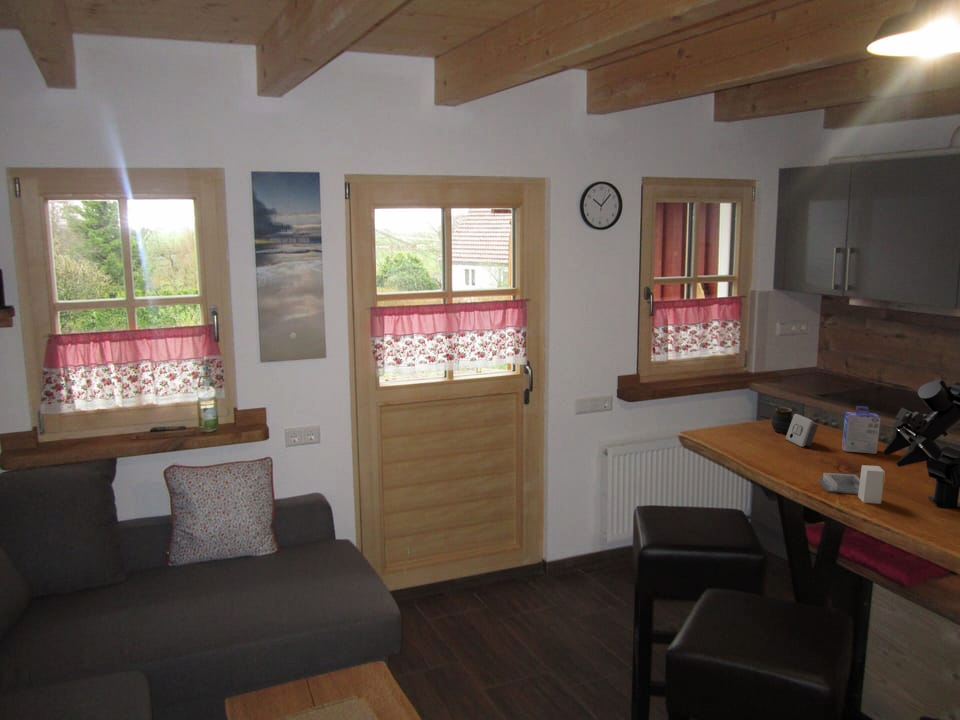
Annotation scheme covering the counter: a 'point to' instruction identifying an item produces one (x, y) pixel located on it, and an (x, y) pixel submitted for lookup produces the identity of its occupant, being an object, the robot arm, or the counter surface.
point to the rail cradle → (840, 483)
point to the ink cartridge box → (861, 431)
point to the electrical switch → (801, 431)
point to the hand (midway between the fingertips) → (890, 459)
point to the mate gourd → (782, 419)
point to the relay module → (871, 484)
